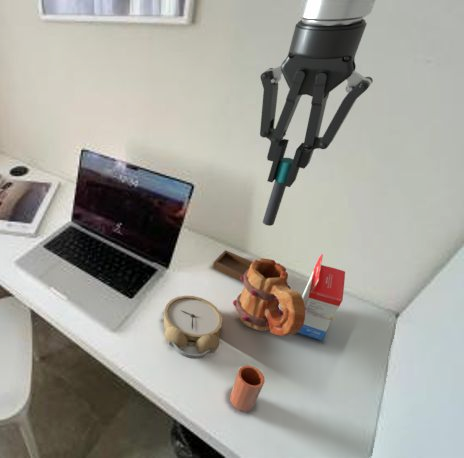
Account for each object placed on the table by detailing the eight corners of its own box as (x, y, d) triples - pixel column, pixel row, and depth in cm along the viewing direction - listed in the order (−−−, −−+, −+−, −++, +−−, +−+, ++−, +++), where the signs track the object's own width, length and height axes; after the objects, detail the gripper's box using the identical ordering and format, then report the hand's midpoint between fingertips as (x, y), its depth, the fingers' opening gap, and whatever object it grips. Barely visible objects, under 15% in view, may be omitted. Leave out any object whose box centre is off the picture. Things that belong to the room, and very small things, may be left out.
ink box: (321, 341, 69) (350, 290, 60) (292, 331, 72) (315, 280, 63) (325, 310, 74) (352, 259, 66) (298, 302, 77) (320, 251, 68)
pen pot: (258, 404, 61) (270, 380, 56) (242, 416, 60) (252, 392, 55) (241, 386, 64) (250, 361, 59) (224, 396, 63) (233, 372, 58)
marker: (277, 223, 64) (297, 160, 56) (269, 227, 64) (288, 164, 56) (267, 218, 66) (286, 156, 58) (259, 221, 65) (277, 159, 57)
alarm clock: (221, 299, 76) (225, 351, 64) (217, 316, 78) (221, 370, 66) (166, 291, 79) (161, 339, 67) (165, 308, 82) (159, 358, 69)
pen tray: (281, 281, 82) (283, 275, 80) (271, 295, 79) (273, 289, 78) (223, 256, 90) (225, 249, 89) (212, 268, 87) (213, 261, 86)
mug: (224, 303, 79) (237, 253, 69) (260, 298, 79) (277, 246, 70) (260, 363, 67) (281, 312, 58) (302, 356, 67) (330, 304, 58)
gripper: (414, 13, 42) (340, 183, 57) (278, 12, 51) (244, 160, 66) (402, 27, 38) (326, 206, 53) (257, 23, 47) (226, 177, 62)
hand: (281, 180), depth 59 cm, fingers closed on marker, 2 cm apart
